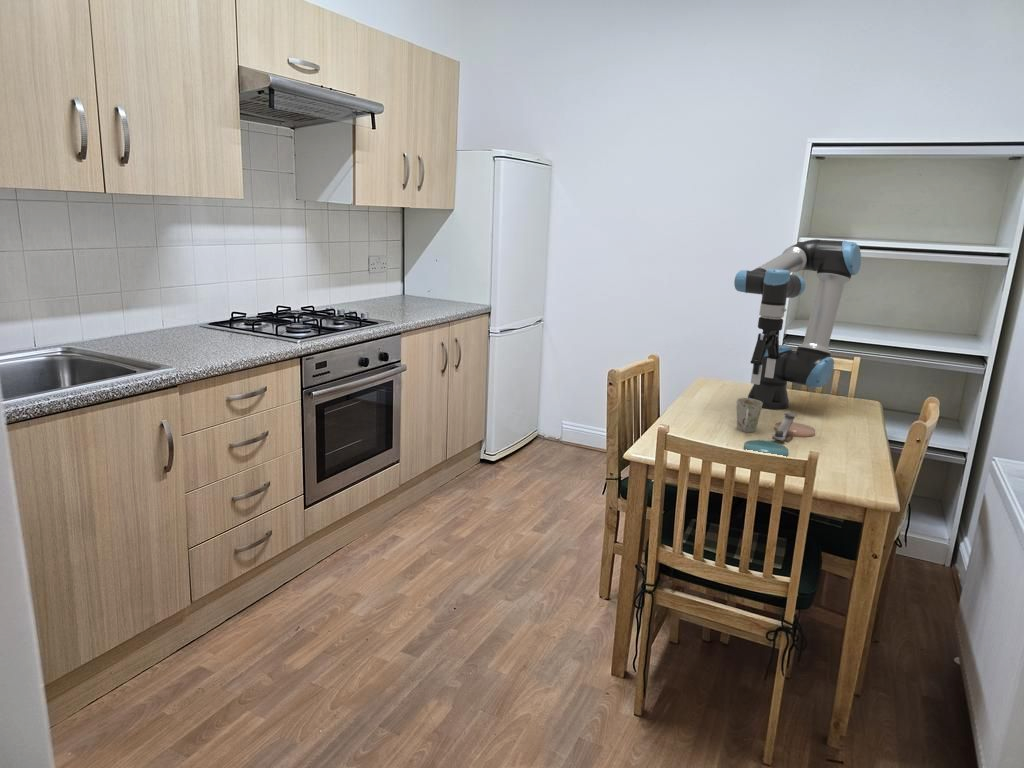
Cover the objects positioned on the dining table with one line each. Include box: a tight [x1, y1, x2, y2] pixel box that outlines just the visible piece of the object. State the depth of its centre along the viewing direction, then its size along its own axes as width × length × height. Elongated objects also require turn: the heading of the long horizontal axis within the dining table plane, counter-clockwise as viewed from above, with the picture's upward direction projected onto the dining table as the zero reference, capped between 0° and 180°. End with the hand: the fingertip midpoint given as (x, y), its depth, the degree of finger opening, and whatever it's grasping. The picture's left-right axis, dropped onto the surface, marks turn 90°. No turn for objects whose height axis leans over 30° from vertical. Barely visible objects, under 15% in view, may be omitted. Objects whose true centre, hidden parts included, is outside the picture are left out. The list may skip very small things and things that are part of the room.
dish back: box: [773, 421, 816, 438], centre depth 237 cm, size 13×13×1 cm
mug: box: [736, 397, 763, 433], centre depth 233 cm, size 8×13×10 cm, turn 161°
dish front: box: [743, 439, 789, 457], centre depth 215 cm, size 13×13×1 cm
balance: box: [771, 410, 798, 443], centre depth 227 cm, size 5×13×8 cm, turn 141°
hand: (762, 380), depth 230 cm, fingers open, 13 cm apart
